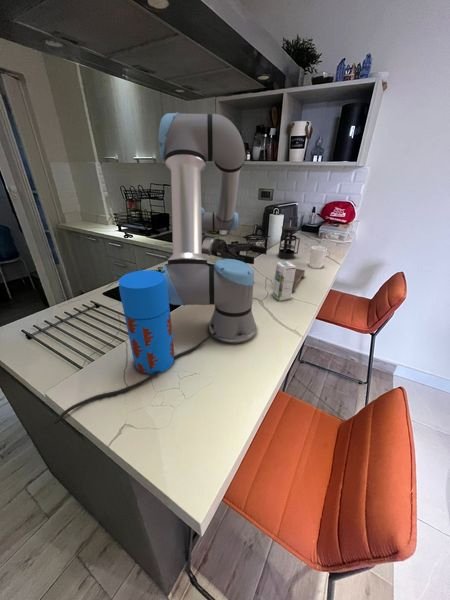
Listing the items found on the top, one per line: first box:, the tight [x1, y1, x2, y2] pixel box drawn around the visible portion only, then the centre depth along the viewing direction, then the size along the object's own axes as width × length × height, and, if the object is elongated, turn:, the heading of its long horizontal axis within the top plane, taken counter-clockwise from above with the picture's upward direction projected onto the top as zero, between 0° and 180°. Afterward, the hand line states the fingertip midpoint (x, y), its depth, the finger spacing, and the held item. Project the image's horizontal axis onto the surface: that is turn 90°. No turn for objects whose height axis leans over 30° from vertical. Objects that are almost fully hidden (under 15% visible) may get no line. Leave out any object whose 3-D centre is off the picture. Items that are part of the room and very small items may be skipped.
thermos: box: [118, 269, 175, 375], centre depth 66 cm, size 11×11×25 cm
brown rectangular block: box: [291, 268, 306, 294], centre depth 118 cm, size 20×8×4 cm, turn 151°
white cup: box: [309, 245, 328, 269], centre depth 136 cm, size 8×8×10 cm
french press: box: [277, 215, 301, 260], centre depth 146 cm, size 12×9×23 cm
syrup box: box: [272, 261, 297, 302], centre depth 103 cm, size 6×6×14 cm
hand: (260, 255), depth 103 cm, fingers open, 13 cm apart
